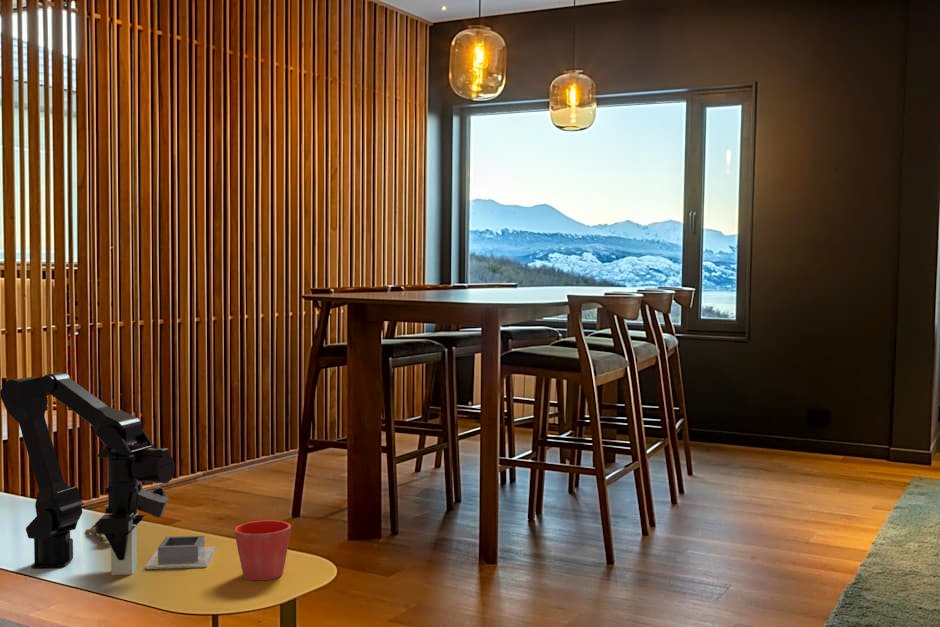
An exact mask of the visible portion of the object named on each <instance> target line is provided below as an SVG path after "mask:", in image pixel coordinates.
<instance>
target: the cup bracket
mask: <svg viewBox="0 0 940 627" xmlns="http://www.w3.org/2000/svg"><path fill="white" fill-rule="evenodd" d="M216 549H217V548H216V546H205V535H183V536H182V535H177V536H165V537H164V539H163V540H162V541H161V543H160V544H159V546H158V547H157V549H156V551H155V552H154V554H152V556H151V558H150V559H149V560H148V561H147V563H146V565H145V570H158V569H159V570H162V569H163V570H164V569H188V568H189V569H192V568H193V569H195V568H196V569H197V568H208V565H209V564H210V561H211V559H212V558H213V556H214V553H215V551H216Z"/></svg>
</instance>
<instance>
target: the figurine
mask: <svg viewBox="0 0 940 627" xmlns="http://www.w3.org/2000/svg"><path fill="white" fill-rule="evenodd" d="M84 532H85V533H86V532H87V534H89V533H95V524H93V525H92V526H91V528H88V529H85V531H84ZM97 535H98V537H99V538H98V539H99V542H103V537H102V535H103V536H105V535H104V534H97Z"/></svg>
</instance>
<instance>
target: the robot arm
mask: <svg viewBox="0 0 940 627" xmlns="http://www.w3.org/2000/svg"><path fill="white" fill-rule="evenodd" d="M49 395H51V396H52V397H53V398H55V399H56V400H58V401H59V402H60V403H61V404H63V405H64V406H66V407H67V408H68V409H70V410H71V411H72V412H74V413H75V414H76V415H78V416H79V417H81V418H82V419H83V420H84V421H86V422H87V423H89V425H91V426H92V428H93V431H94V433H95V436H96V437H97V438H99V440H100V441H101V442H102V443H103V444H104V445H105V447H104V448H103V449H102V450H101V451H100V452H99V453H98V454H97V457H98V458H102V459H107V485H106V487H104V490H105V492H104V493H105V494H107V506H106V507H105V512H104V513H105V514H103V516H101V517H100V518H99V519H98V520H97V521H96V522H95V524H94V525H95V532H94V533H95V534H97V535H98V534H104V535H103V536H105V539H106V541H108V543H109V545H110V548H111V547H112V549H113V551H114V553H115V555H116V557H117V558H118V560H124V558H125V553H126V546H127V540H128V534H129V533H130V532H131V531H132V530H133V529H134V528H135V527H136V528H137V525H138V524H139V523H140V522H141V521H142V520H143V519H144V518H145V515H143V514H138V513H139V512H138V511H140V512H143V513H145V514H146V513H147V514H148V515H149V514H150V515H151V516H152V517H154V518H155V517H156V518H160V517H162V515H163V514H164V513H165V510H166V507H167V504H168V503H169V496H168V495H167V494H166V489H165V488H164V487H161V486H158V487H156V488H155V489H154V490H153V491H151V490H144V489H143V483H145V482H146V483H155V484H168V483H169V482H170V481H171V480H172V479H173V477H174V473H175V471H176V463H175V461H174V459H173V457H172V455H170V454H169V448H167V447H161V448H155V445H154V444H153V442H152V441H151V439H150V437H149V436H148V434H147V433H146V431H145V430H144V428H143V423H142V421H141V420H140V419H139V418H138V417H136V416H135V415H133V414H130V413H128V412H126V411H123V410H121V409H120V410H119V409H115V408H112V407H110V406H108V405H107V404H106V403H104V402H103V401H102V400H100V399H99V398H97V397H96V396H95V395H94V394H93V393H91V392H89V391H88V390H87V389H85V388H84V387H83V386H81V385H80V384H79V383H78V382H76V381H74V380H73V379H71V377H70V375H69V374H68V373H66V372H55V373H47V374H45V375H43V376H39V377H37V376H27V377H22V378H21V377H20V378H14V379H13V378H12V379H8V380H7V381H5V382H4V384H2V387H1V389H0V399H1V401H2V404H3V406H4V408H5V409H6V413H8V414H9V415H10V416H11V417H12V418H13V420H14V421H16V422H17V423H18V424H19V429H20V431H21V436H22V438H23V441H24V446H25V450H26V451H27V455H28V458H29V462H30V465H31V468H32V472H33V475H34V479H35V482H36V485H37V488H38V492H37V496H36V499H35V506H34V507H35V514H36V517H35V518H33V520H32V521H31V522H29V524H28V525H27V526H26V527H25V532H26V534H27V538H28V539H31V540H32V539H33V543H34V544H33V550H34V551H33V552H34V554H33V555H34V557H33V558H34V562H33V563H32V564H31V569H32V568H33V569H36V568H37V569H39V568H41V569H43V568H63V567H66V565H68V564H69V563H70V562H71V561H72V560H73V559H74V540H73V538H71V531H74V530H76V528H77V525H78V521H80V518H81V515H82V514H83V507H82V506H84V502H83V501H82V499H81V496H80V490H79V488H78V487H77V486H73V487H71V486H69V485H68V484H67V483H66V482H65V480H64V477H63V474H62V470H61V467H60V464H59V460H58V458H57V457H58V456H57V453H56V450H55V446H54V443H53V441H52V437H51V434H50V431H49V427H48V424H47V421H46V416H45V415H46V411H47V406H48V396H49ZM135 524H136V526H132V525H135Z"/></svg>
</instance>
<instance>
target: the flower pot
mask: <svg viewBox="0 0 940 627" xmlns="http://www.w3.org/2000/svg"><path fill="white" fill-rule="evenodd" d="M291 526H292V525H291V524H290V523H289V522H285V521H282V520H270V519H269V520H268V519H267V520H256V521H249V522H245V523H243V524H239V525H238V526H236V527H235V528H234V536H235V542H236V547H237V551H238V557H239V561H240V566H241V571H242V574H243V578H245V579H247V580H251V581H258V580H259V581H268V580H273V579H277V578H279V577H281V576H282V575H283V574H284V570H285V565H286V558H287V554H288V548H289V543H290V542H289V541H290V536H291V535H290V534H291V529H292V528H291Z"/></svg>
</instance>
